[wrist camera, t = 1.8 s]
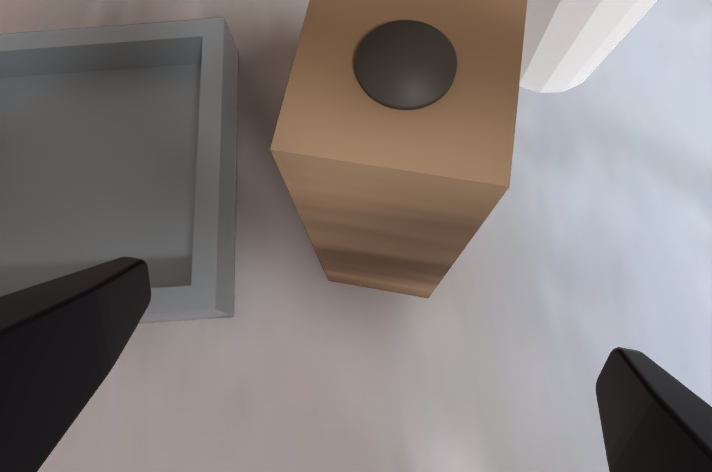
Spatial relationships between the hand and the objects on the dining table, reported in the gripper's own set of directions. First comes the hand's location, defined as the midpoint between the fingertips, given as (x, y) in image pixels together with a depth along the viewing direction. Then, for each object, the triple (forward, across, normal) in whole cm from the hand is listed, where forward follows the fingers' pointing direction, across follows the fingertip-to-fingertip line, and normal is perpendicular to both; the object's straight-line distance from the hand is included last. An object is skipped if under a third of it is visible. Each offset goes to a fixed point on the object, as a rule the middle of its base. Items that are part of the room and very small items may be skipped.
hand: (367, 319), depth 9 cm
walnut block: (+12, 0, +5) cm, 12 cm away
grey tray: (+12, +15, +4) cm, 19 cm away
